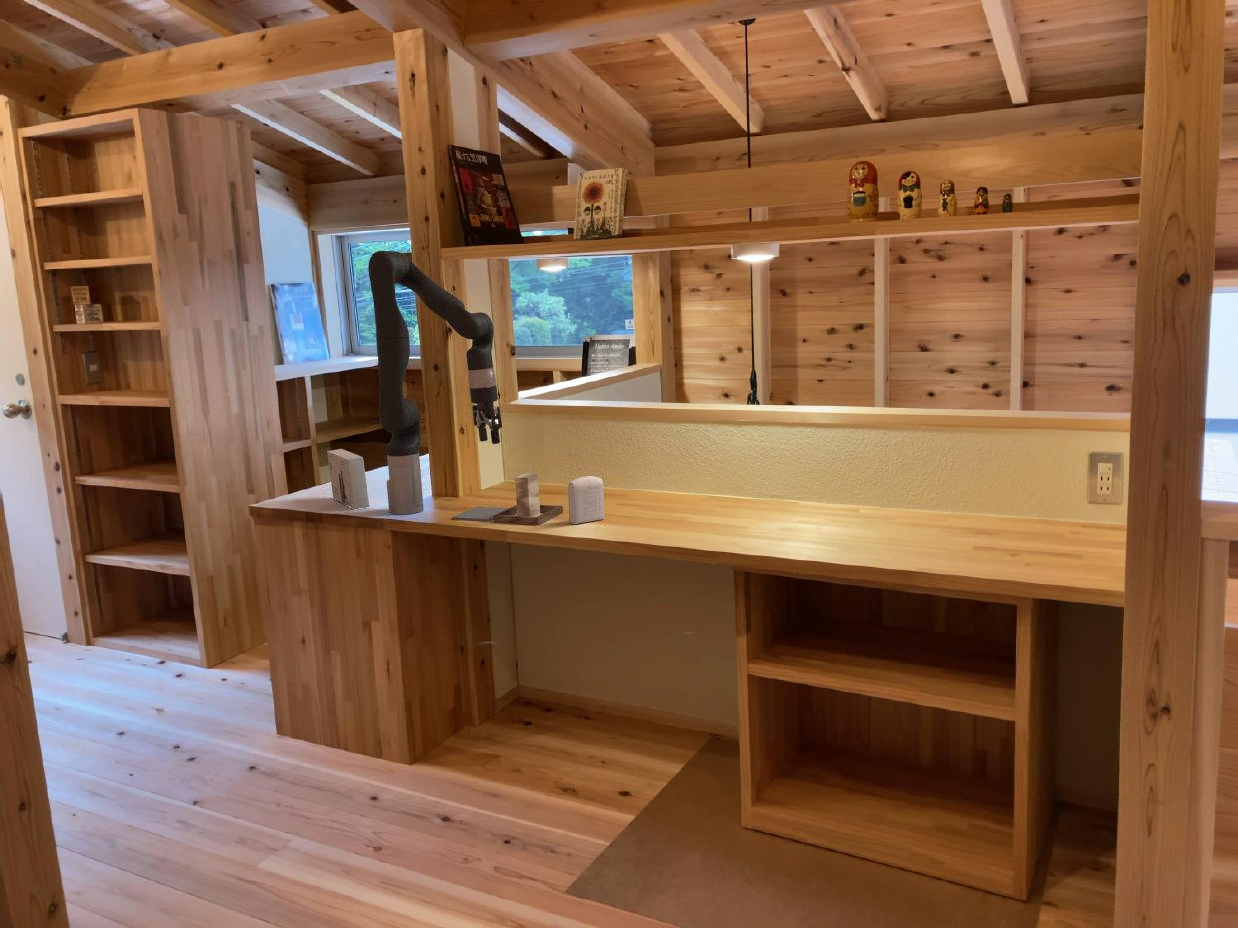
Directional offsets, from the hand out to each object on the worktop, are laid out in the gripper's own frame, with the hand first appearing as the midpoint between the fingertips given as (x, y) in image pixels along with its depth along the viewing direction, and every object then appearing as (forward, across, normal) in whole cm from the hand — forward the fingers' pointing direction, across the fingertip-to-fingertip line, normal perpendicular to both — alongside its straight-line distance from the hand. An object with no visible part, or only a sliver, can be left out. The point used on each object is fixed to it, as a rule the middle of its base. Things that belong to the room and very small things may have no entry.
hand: (489, 442), depth 270 cm
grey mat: (+21, -4, -3) cm, 22 cm away
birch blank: (+22, +8, +6) cm, 24 cm away
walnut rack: (+22, +8, +6) cm, 24 cm away
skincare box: (+19, -47, -29) cm, 58 cm away
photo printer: (+23, +22, +16) cm, 36 cm away
